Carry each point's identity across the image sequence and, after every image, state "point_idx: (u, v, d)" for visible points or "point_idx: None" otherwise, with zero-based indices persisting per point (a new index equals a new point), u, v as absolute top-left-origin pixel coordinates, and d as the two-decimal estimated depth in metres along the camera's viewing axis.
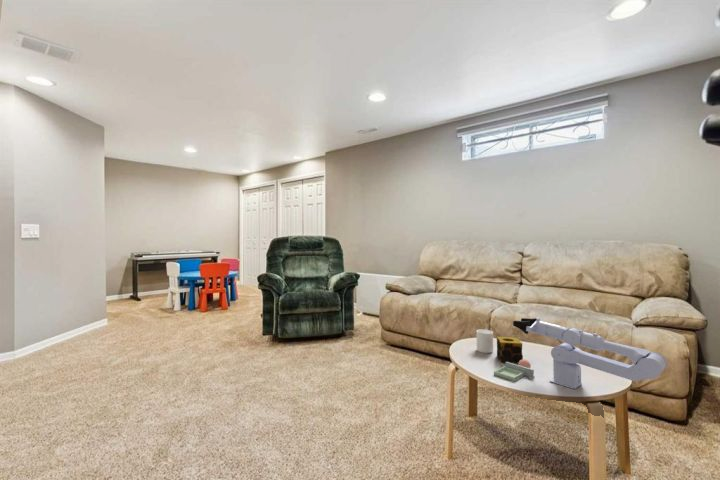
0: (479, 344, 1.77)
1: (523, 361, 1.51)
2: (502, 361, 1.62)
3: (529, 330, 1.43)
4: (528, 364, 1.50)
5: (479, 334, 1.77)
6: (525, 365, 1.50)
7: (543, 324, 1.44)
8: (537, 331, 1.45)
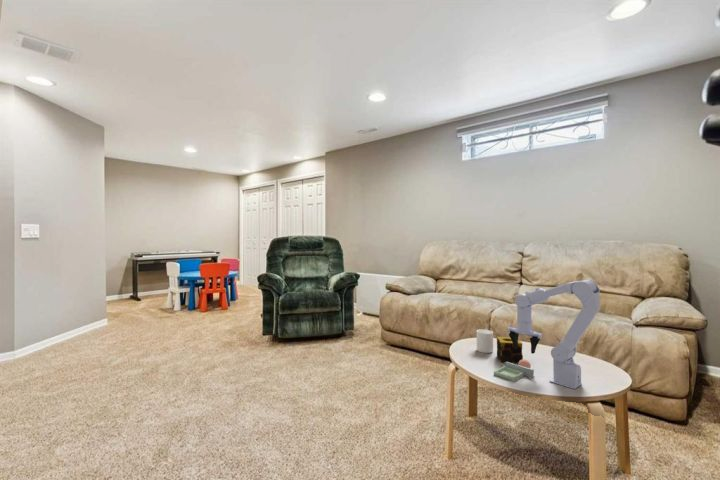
0: (479, 344, 1.77)
1: (523, 361, 1.51)
2: (502, 361, 1.62)
3: None
4: (528, 364, 1.50)
5: (479, 334, 1.77)
6: (525, 365, 1.50)
7: None
8: (517, 328, 1.53)
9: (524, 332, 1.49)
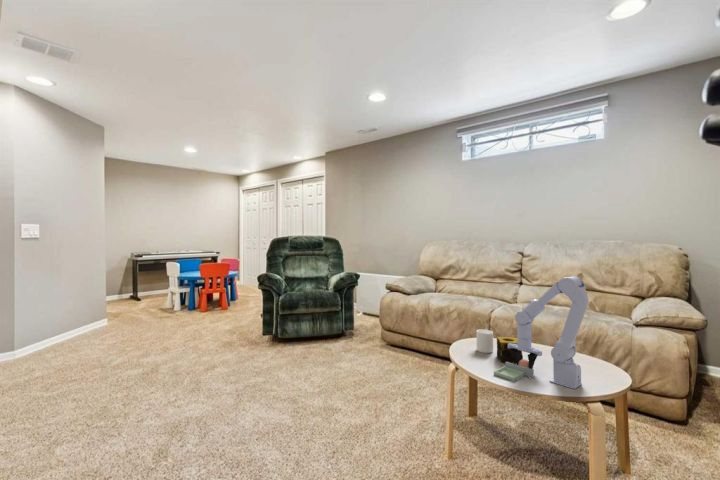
0: (479, 344, 1.77)
1: (523, 361, 1.51)
2: (502, 361, 1.62)
3: None
4: (528, 364, 1.50)
5: (479, 334, 1.77)
6: (525, 365, 1.50)
7: None
8: (517, 344, 1.53)
9: (524, 349, 1.49)
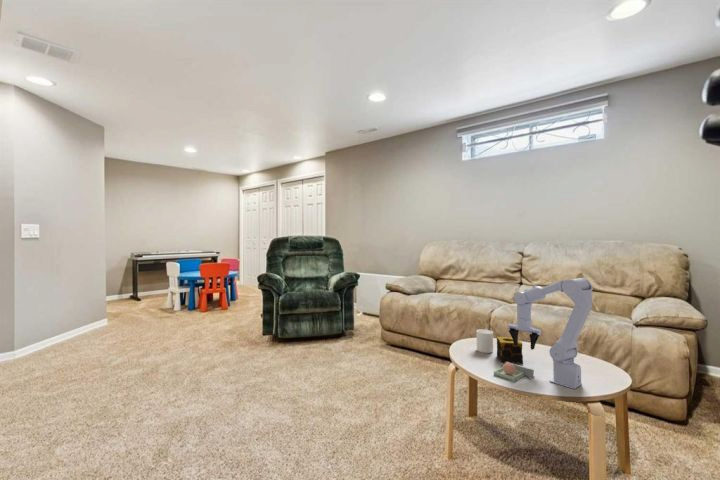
0: (479, 344, 1.77)
1: (508, 365, 1.46)
2: (502, 361, 1.62)
3: None
4: (512, 368, 1.45)
5: (479, 334, 1.77)
6: (509, 369, 1.45)
7: None
8: (517, 324, 1.57)
9: (524, 329, 1.53)
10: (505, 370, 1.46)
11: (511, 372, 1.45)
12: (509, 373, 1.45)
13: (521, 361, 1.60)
